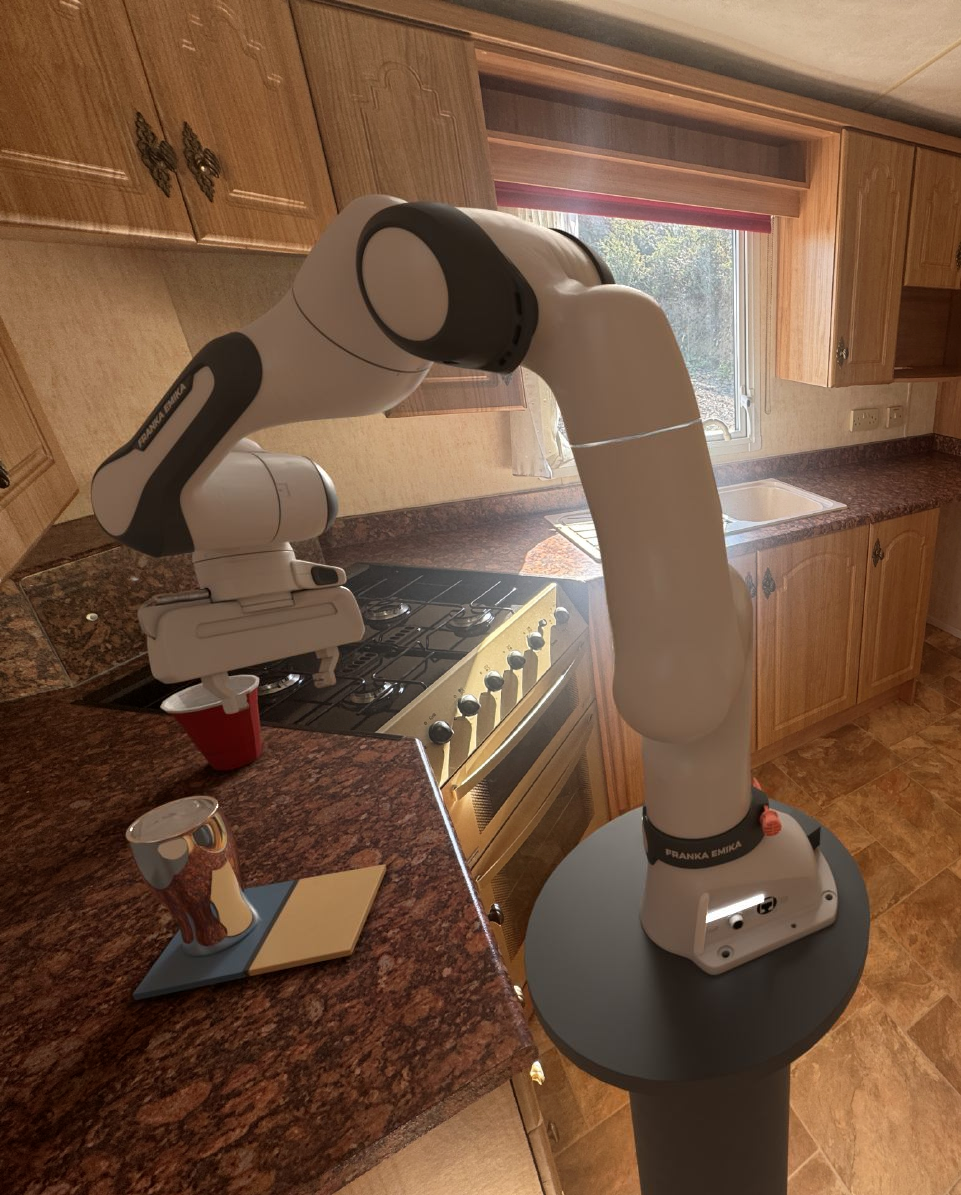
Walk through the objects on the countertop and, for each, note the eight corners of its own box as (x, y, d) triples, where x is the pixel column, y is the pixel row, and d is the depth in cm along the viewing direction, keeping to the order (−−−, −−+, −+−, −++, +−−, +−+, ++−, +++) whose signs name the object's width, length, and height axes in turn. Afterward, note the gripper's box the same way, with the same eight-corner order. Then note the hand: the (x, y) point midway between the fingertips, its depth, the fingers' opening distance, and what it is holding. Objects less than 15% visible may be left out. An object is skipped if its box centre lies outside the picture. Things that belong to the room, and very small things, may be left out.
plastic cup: (252, 732, 101) (229, 666, 96) (298, 746, 97) (276, 679, 93) (170, 771, 91) (140, 700, 87) (218, 789, 88) (189, 715, 83)
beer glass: (274, 896, 70) (233, 787, 64) (250, 948, 64) (201, 833, 58) (196, 914, 68) (146, 803, 62) (163, 970, 62) (104, 852, 56)
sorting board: (386, 868, 75) (385, 863, 75) (351, 955, 64) (349, 949, 64) (205, 901, 70) (202, 895, 70) (134, 1000, 60) (131, 994, 59)
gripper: (149, 593, 61) (190, 728, 62) (357, 568, 80) (384, 672, 81) (115, 601, 63) (155, 731, 65) (325, 575, 82) (352, 676, 83)
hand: (284, 698), depth 73 cm, fingers open, 8 cm apart
